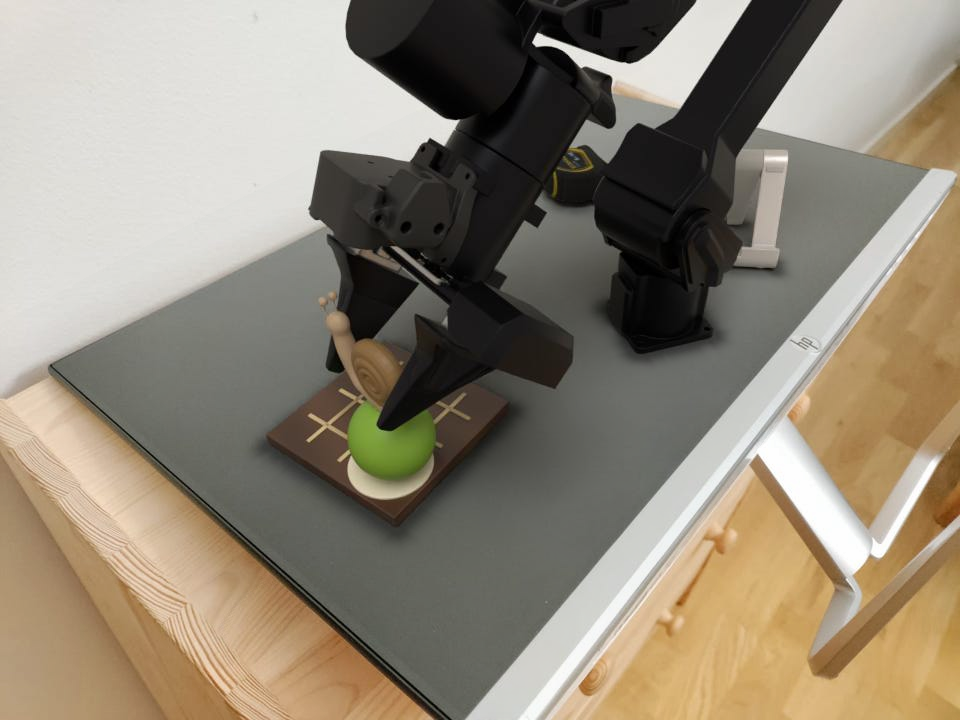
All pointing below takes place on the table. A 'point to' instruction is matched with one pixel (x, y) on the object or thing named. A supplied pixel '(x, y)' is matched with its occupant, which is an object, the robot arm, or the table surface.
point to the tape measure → (576, 175)
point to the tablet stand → (759, 203)
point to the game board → (324, 426)
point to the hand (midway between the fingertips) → (356, 398)
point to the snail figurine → (378, 406)
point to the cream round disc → (387, 482)
